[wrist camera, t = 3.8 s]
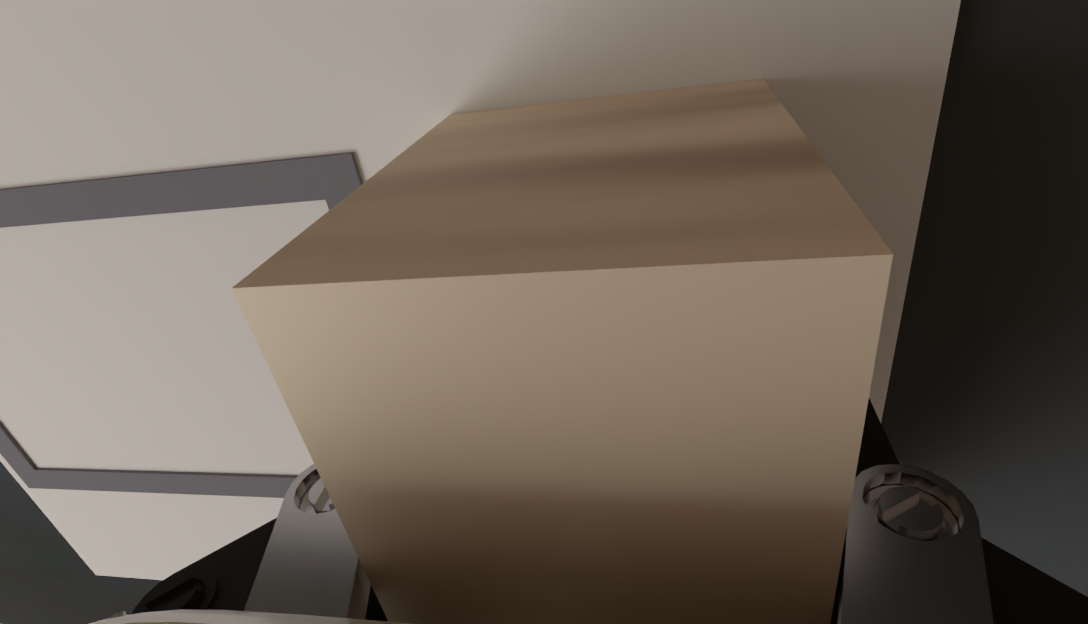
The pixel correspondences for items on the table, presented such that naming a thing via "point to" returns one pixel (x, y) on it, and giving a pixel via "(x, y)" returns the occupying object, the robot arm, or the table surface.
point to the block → (588, 363)
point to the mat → (327, 201)
